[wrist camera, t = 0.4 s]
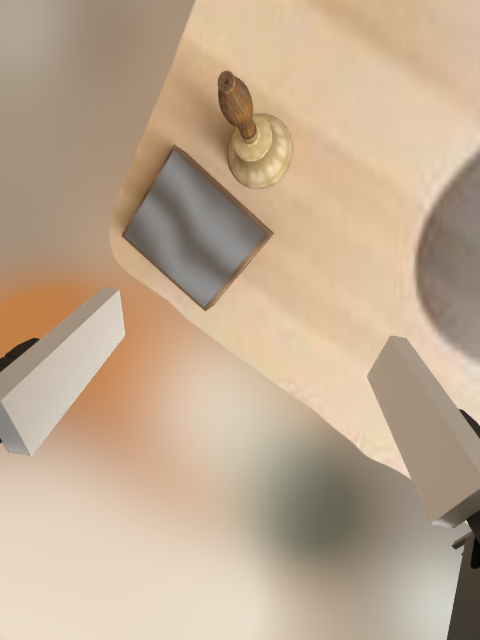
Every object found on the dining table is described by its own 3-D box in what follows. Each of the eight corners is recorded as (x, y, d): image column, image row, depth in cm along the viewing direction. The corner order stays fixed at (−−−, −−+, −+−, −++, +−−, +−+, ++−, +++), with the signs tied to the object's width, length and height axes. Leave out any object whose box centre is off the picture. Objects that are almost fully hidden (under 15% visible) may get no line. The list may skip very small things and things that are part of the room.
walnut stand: (186, 153, 36) (173, 143, 32) (273, 233, 36) (270, 232, 32) (136, 236, 41) (119, 235, 37) (213, 305, 41) (204, 311, 37)
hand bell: (226, 120, 33) (165, 24, 19) (293, 110, 32) (283, -5, 17) (229, 191, 36) (177, 157, 21) (291, 186, 34) (282, 145, 19)
